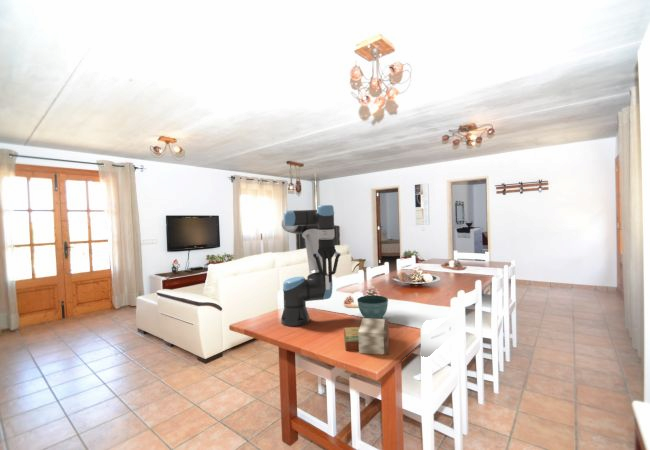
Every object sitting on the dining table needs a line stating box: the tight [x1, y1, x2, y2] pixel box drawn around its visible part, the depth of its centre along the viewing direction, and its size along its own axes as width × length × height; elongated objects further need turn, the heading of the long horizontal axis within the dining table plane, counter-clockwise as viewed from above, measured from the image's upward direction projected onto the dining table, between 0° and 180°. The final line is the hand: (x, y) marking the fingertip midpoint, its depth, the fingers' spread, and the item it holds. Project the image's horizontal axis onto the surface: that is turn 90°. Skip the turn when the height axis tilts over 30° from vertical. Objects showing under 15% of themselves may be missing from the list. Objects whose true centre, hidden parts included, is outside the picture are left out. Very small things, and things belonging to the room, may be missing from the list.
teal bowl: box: [357, 294, 389, 319], centre depth 161 cm, size 16×16×11 cm
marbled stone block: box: [358, 317, 390, 356], centre depth 128 cm, size 12×17×8 cm
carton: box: [343, 326, 360, 352], centre depth 132 cm, size 8×16×4 cm, turn 179°
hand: (328, 288), depth 140 cm, fingers closed
